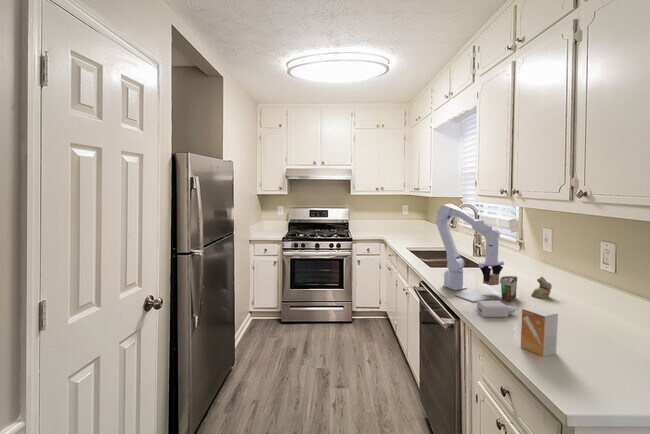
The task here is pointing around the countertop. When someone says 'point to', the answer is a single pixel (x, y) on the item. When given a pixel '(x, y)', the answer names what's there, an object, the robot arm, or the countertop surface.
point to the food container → (508, 288)
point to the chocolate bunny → (542, 289)
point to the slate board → (472, 297)
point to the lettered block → (492, 279)
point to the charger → (494, 309)
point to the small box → (539, 331)
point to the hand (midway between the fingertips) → (490, 280)
